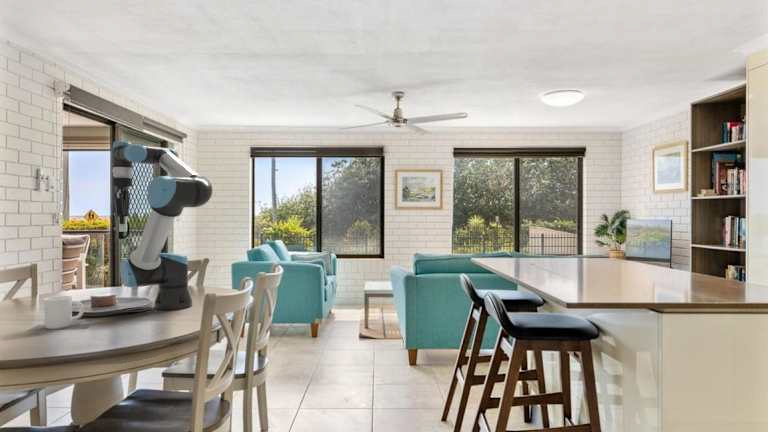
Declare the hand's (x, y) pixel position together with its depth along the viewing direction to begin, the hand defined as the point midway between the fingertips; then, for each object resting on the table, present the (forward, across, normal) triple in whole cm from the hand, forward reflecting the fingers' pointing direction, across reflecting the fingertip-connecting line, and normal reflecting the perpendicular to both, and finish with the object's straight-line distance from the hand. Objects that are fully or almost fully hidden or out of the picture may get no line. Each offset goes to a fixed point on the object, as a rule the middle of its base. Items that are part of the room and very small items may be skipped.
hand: (122, 231), depth 208 cm
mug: (+33, +34, -9) cm, 48 cm away
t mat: (+33, +33, -9) cm, 47 cm away
